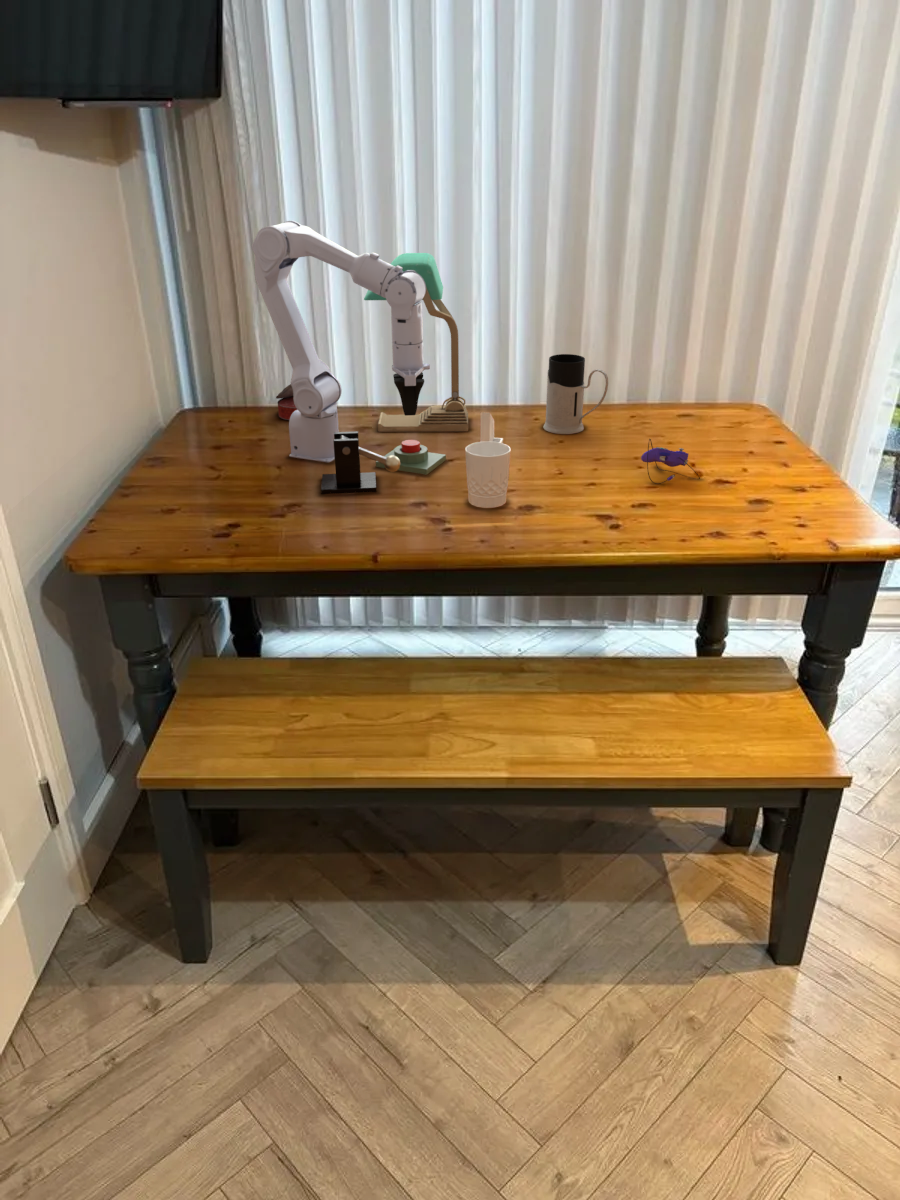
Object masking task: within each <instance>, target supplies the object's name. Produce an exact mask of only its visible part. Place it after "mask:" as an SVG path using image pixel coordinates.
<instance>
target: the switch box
mask: <svg viewBox="0 0 900 1200" xmlns="http://www.w3.org/2000/svg"><path fill="white" fill-rule="evenodd" d="M391 455H394V456H396V457H398V458H399V460H400V467H399V469H398V470H397V471H402V472H407V473H414V474H419V475H420V474H421V475H428V474H429V473H431V472H432V471H433V470H435V469H436V468H437V467H439V466H440V465H442V464H443V463H444V462H445V461H447V454H444V453H437V452H430V451H429V450H428V447H427V446H425V445H423V444H420V451H419V452H416V453H405V452H402V447H401V444H400V445H397V446H395V447H394V448H393V450H391V451H389V452H388V453H386V454H384V455H383V456H384V457H386V458H387V457H388V456H391ZM375 467H376V468H380V469H381V468H382V469H386V468H385V466H384V464H383V463H380V462H378V461H375Z"/></svg>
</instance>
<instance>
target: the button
mask: <svg viewBox="0 0 900 1200" xmlns="http://www.w3.org/2000/svg"><path fill="white" fill-rule="evenodd" d="M400 445H401V447H402V452H405V453H416V452H419V451H420V445H421V442H420V441H419V440H417V439H406V440H402V441H401V444H400Z"/></svg>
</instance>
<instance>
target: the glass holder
mask: <svg viewBox="0 0 900 1200" xmlns="http://www.w3.org/2000/svg"><path fill="white" fill-rule="evenodd" d="M585 364H586V358H585V356H582V355H578V354H574V353H573V354H571V353H561V354H554V355H551V356H549V357H548V369H547V379H546V380H547V381H546V403H545V421H544V424H543V425H542V426H543V427H542V428H543V429H544V431H546V432H549V433H552V434H557V435H572V434H578V433H581V432H583V431H584V429H585V427H584V423H583V419H584V418H585V417H586V416H588V415H589V414H591V413H592V412H594V411H595V410H596V409H597V408H599V407H600V406H601V405H602V403H603V402H604V400H605V398H606V396H607V393H608V390H609V389H608V388H609V376H608V375H607V373H606V371H604V370H602V369H600V368H599V369H598V368H597V369H594V370H592V371H591V372H590V373H589V375H588V378H587V385H586V386H585V367H586V366H585ZM595 372H599V373H601V374H602V375H603V376H604V379H605V387H604V392H603V395H602V396H601V399H600V400H599V401H598V403H597V404H596V405H595V406H594V407H593V408H592V409H590V410H588V411H587V412H585V413H584V398H585V397H584V395H585V389H588V388H590V386H591V383H592V382H591V381H592V376H593V374H594V373H595ZM583 413H584V414H583Z"/></svg>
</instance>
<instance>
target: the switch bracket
mask: <svg viewBox="0 0 900 1200" xmlns="http://www.w3.org/2000/svg"><path fill="white" fill-rule="evenodd" d="M342 435H343V436H346V437H348V438H351V439H340V438H341V436H342ZM359 441H360V439H359V430H358V431H339V432H334V441H333V442H334V456H335V460H334V469H335V473H323V474H322V476H321V485H320V495H336V494H361V493H363V494H364V493H377V475H376V473H377V472H375V471H371V472H370V471H369V472H361V455H360V454H359V447H360V442H359Z"/></svg>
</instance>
